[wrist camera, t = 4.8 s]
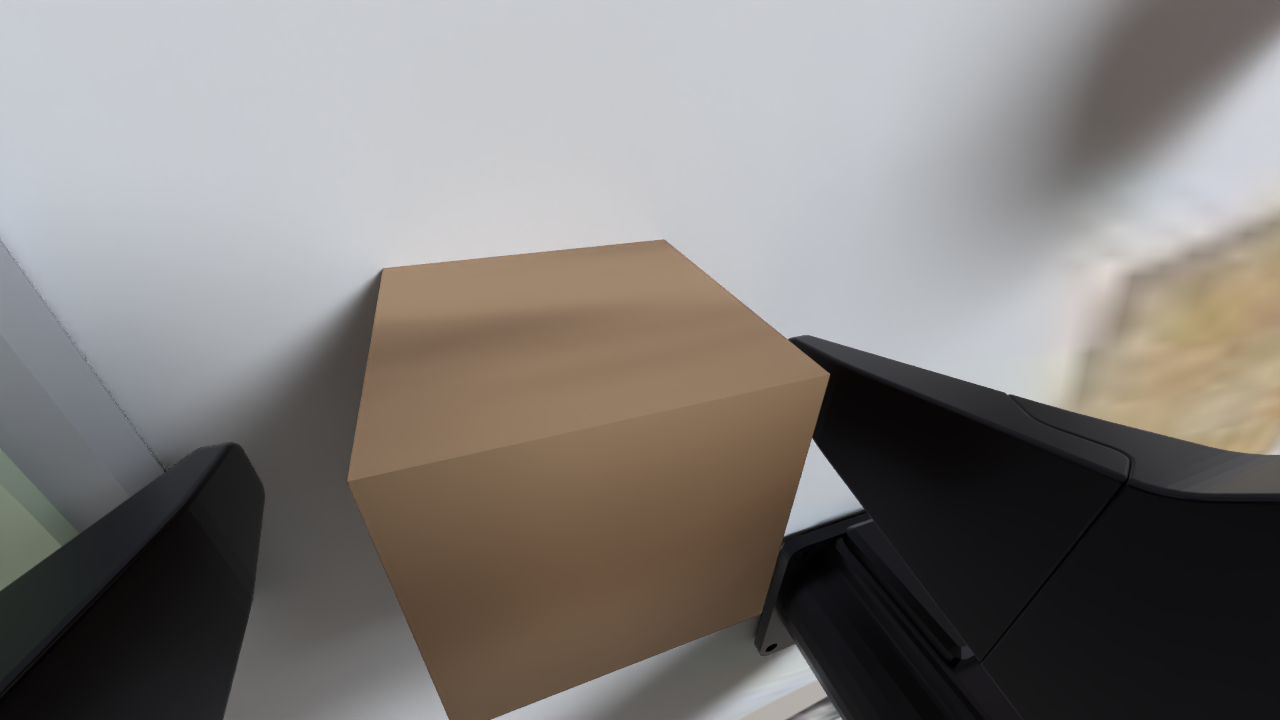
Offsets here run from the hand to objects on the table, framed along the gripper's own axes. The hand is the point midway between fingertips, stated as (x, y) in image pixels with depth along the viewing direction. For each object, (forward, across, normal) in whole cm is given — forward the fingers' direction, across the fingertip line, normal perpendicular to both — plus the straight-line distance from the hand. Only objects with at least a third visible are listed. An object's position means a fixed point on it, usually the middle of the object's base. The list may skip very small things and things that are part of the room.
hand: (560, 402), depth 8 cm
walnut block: (+1, 0, 0) cm, 1 cm away
